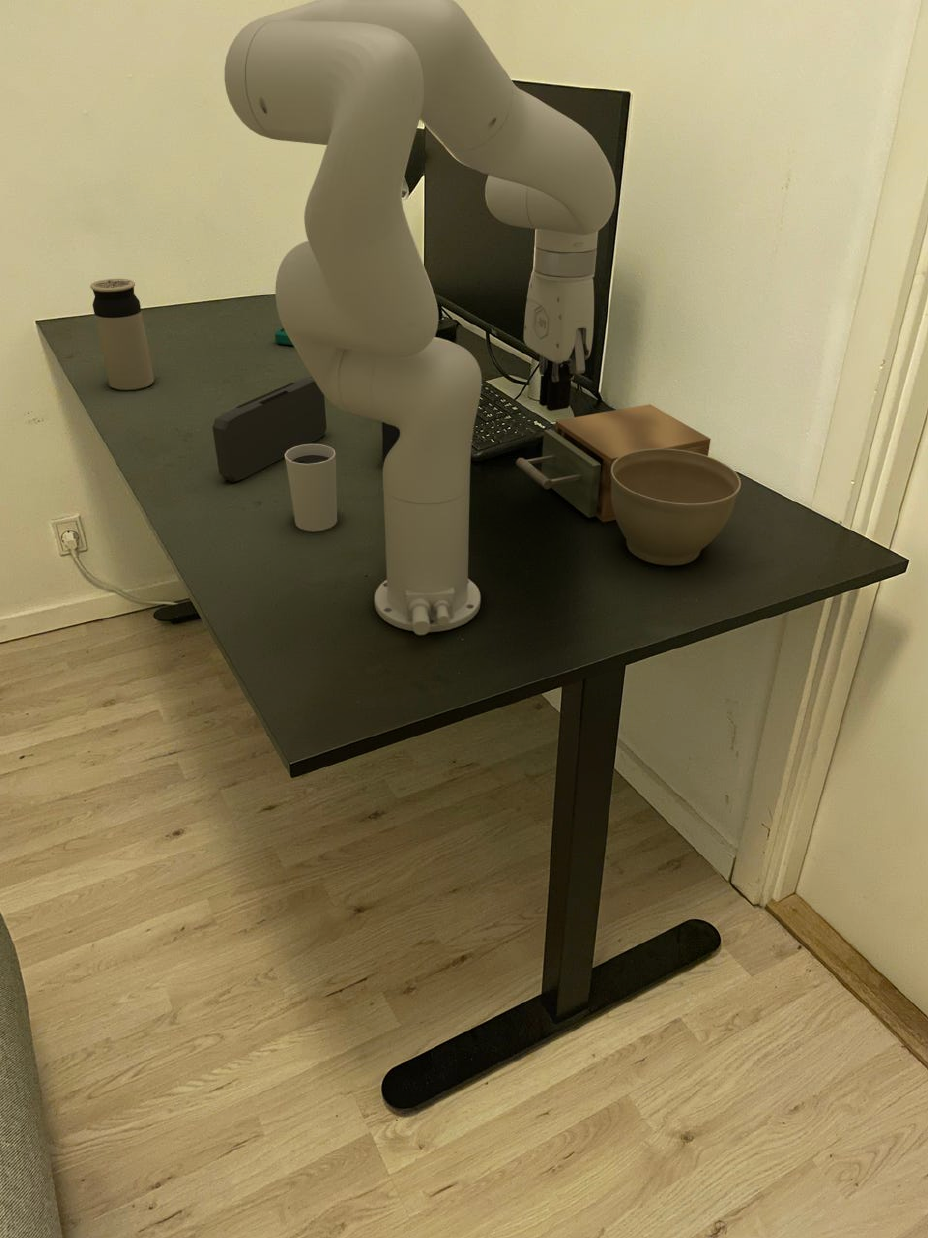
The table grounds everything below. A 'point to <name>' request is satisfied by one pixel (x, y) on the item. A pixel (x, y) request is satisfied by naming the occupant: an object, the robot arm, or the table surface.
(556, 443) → the drawer
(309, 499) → the white coffee cup
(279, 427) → the handheld gaming console
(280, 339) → the digital multimeter
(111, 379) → the travel mug
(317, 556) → the table surface
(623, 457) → the planter bowl
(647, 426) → the cabinet
